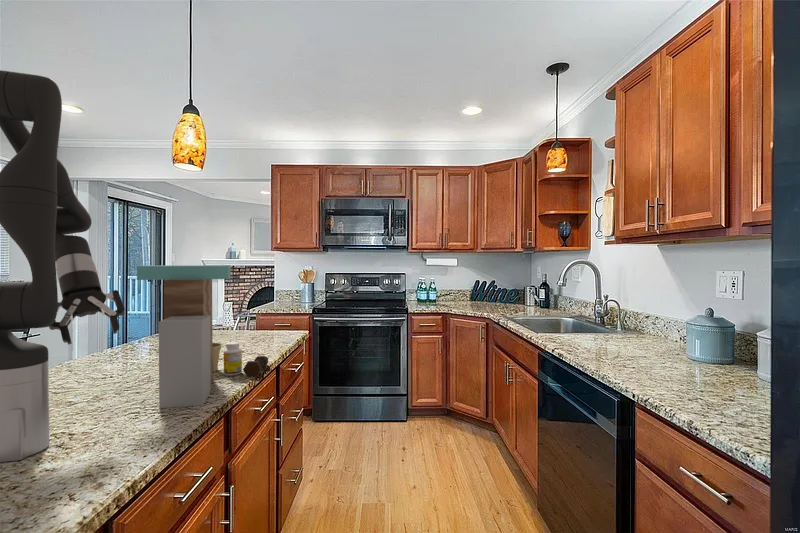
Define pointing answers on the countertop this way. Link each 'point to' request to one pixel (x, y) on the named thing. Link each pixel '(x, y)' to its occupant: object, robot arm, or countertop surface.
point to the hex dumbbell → (255, 366)
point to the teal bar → (183, 272)
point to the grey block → (184, 361)
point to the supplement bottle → (232, 359)
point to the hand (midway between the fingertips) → (93, 337)
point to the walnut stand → (189, 301)
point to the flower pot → (216, 355)
